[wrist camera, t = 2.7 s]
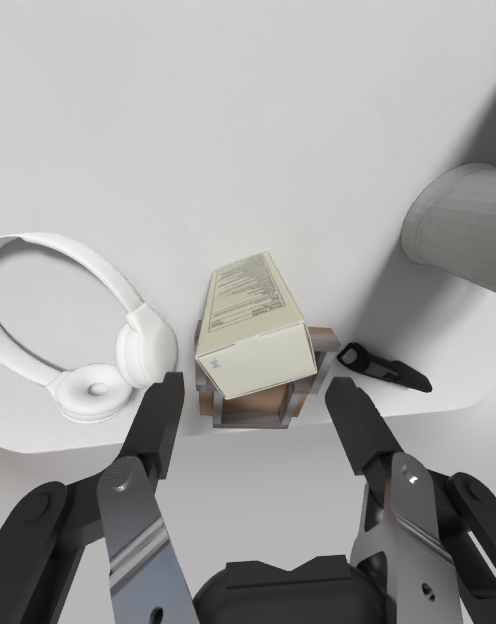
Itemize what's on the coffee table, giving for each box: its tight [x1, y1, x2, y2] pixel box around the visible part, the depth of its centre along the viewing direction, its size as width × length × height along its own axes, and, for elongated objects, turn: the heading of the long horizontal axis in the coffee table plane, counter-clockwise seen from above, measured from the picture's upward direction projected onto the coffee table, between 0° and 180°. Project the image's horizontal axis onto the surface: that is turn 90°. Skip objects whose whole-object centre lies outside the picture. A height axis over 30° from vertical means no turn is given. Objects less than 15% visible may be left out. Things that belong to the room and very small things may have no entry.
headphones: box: [0, 233, 177, 424], centre depth 22 cm, size 7×18×20 cm
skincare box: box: [195, 252, 317, 399], centre depth 16 cm, size 6×4×12 cm
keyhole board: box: [195, 320, 341, 429], centre depth 29 cm, size 18×16×3 cm
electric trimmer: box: [337, 343, 432, 393], centre depth 29 cm, size 4×16×3 cm, turn 63°
